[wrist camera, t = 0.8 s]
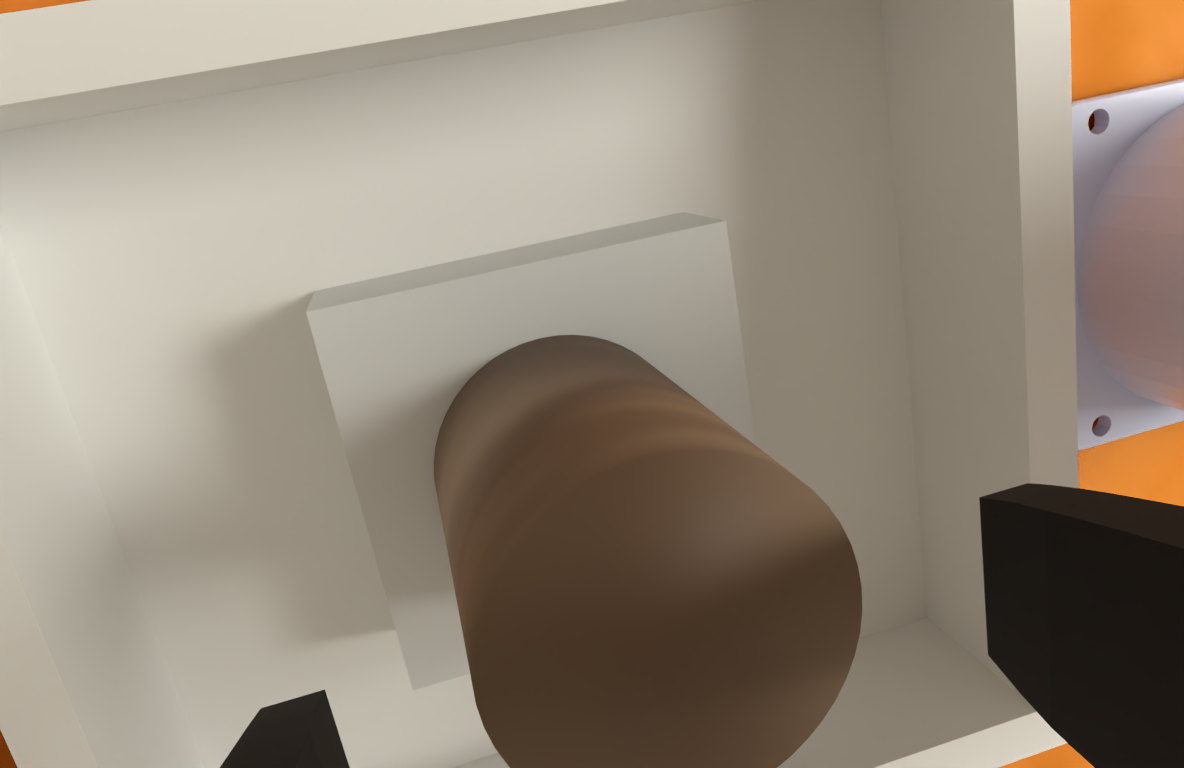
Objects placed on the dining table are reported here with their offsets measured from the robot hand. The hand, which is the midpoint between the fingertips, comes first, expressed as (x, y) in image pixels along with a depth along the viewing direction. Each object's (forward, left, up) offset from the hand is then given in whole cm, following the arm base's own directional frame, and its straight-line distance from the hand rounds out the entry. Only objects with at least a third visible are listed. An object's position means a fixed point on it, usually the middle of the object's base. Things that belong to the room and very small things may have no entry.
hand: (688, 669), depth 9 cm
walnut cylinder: (0, 0, -6) cm, 6 cm away
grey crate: (0, 0, -10) cm, 10 cm away
